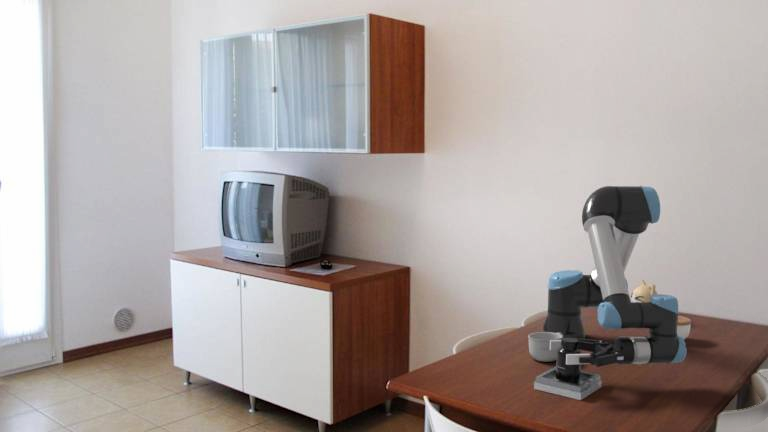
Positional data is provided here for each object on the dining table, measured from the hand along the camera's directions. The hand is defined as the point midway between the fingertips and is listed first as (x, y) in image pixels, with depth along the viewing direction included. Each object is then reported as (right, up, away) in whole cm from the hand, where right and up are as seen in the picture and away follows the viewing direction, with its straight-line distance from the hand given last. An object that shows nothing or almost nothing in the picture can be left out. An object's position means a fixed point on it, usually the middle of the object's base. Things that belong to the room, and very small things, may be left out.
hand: (557, 352), depth 205 cm
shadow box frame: (+3, -10, +1) cm, 11 cm away
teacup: (+4, -8, +29) cm, 30 cm away
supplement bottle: (+3, -9, +1) cm, 9 cm away
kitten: (+53, -2, +82) cm, 97 cm away
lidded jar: (+53, -6, +52) cm, 75 cm away
